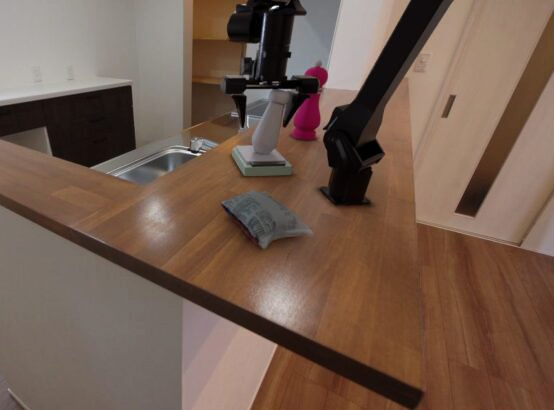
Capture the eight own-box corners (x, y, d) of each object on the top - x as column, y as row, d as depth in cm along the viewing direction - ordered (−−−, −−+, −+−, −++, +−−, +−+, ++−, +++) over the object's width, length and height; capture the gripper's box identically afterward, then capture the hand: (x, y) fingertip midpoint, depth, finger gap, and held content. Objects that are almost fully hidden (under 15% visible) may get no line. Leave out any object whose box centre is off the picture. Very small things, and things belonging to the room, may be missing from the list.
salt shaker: (267, 157, 63) (288, 93, 57) (244, 148, 66) (262, 86, 60) (278, 153, 68) (299, 94, 62) (256, 145, 71) (274, 87, 64)
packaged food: (264, 205, 52) (268, 179, 49) (311, 245, 42) (319, 215, 40) (218, 215, 49) (219, 188, 46) (257, 260, 39) (262, 229, 37)
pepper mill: (285, 134, 89) (298, 59, 79) (306, 132, 91) (321, 58, 81) (300, 141, 83) (316, 61, 73) (322, 139, 85) (340, 61, 75)
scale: (290, 175, 63) (293, 163, 62) (244, 176, 62) (245, 164, 61) (272, 154, 73) (273, 144, 72) (231, 155, 73) (232, 145, 71)
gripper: (304, 43, 64) (290, 117, 72) (218, 43, 63) (214, 118, 71) (329, 46, 55) (311, 130, 63) (229, 45, 53) (223, 132, 61)
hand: (263, 127), depth 64 cm, fingers open, 9 cm apart
